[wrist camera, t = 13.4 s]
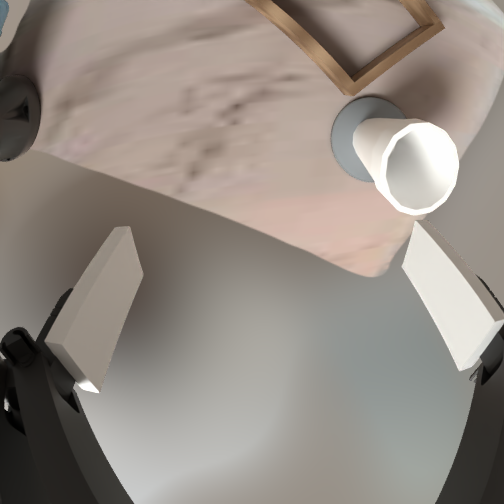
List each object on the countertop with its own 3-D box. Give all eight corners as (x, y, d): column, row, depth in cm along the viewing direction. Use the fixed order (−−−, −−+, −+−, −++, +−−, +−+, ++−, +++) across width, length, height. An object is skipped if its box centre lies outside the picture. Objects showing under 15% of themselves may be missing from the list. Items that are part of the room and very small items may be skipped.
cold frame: (241, -3, 24) (237, -18, 19) (340, -63, 16) (351, -80, 11) (343, 94, 31) (359, 97, 26) (430, 30, 23) (453, 26, 18)
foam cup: (382, 94, 30) (437, 105, 19) (414, 150, 33) (468, 183, 22) (327, 132, 33) (361, 158, 22) (364, 185, 37) (403, 231, 26)
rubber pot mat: (312, 133, 34) (313, 134, 33) (377, 80, 29) (379, 80, 28) (364, 196, 38) (366, 198, 38) (422, 148, 34) (425, 149, 33)
